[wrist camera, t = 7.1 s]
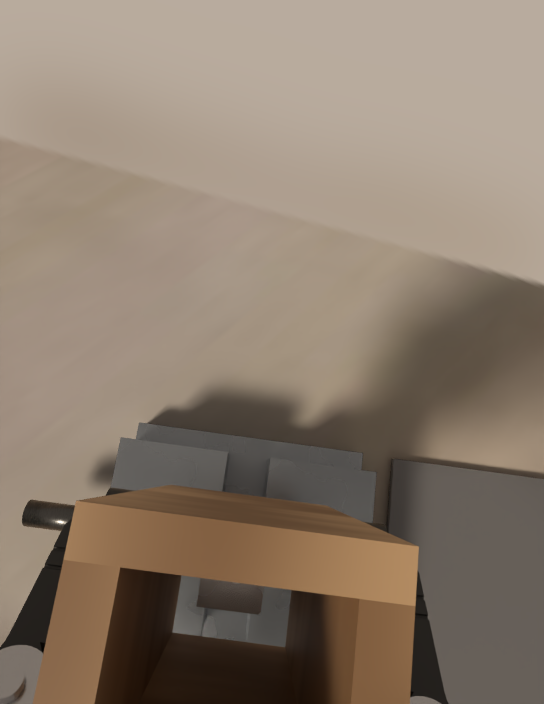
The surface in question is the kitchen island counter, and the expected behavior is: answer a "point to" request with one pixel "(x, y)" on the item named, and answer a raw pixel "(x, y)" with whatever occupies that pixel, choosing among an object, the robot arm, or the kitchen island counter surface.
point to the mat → (477, 575)
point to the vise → (241, 478)
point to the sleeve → (233, 566)
